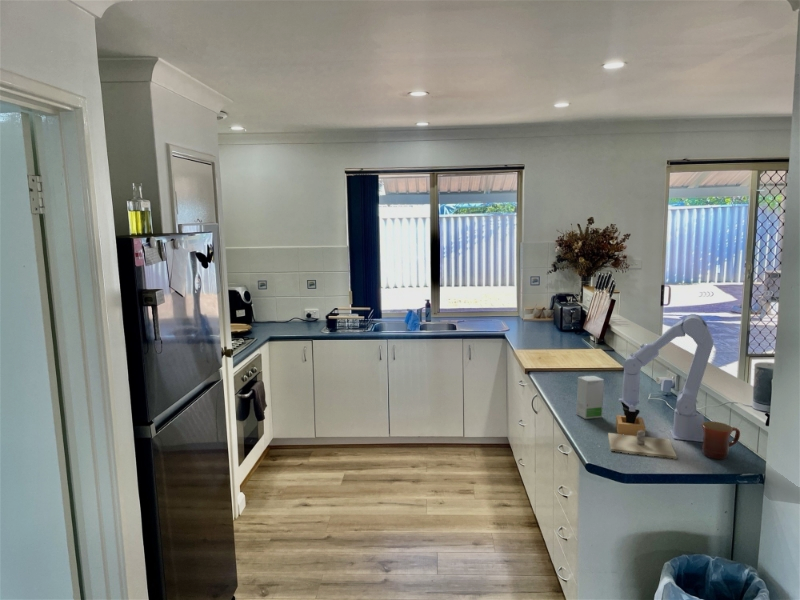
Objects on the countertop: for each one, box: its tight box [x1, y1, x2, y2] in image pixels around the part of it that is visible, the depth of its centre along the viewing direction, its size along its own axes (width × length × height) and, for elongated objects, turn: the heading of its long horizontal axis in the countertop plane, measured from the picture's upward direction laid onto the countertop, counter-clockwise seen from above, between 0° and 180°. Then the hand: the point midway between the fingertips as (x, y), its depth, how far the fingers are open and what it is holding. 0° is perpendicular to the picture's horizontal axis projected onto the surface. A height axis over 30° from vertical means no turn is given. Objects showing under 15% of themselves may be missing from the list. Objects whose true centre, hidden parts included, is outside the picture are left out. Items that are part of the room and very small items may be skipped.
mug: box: [701, 420, 741, 460], centre depth 173 cm, size 12×9×10 cm
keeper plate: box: [607, 430, 678, 460], centre depth 181 cm, size 20×14×6 cm
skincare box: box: [575, 375, 605, 420], centre depth 210 cm, size 8×7×16 cm
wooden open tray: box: [615, 414, 646, 436], centre depth 195 cm, size 9×9×4 cm
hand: (629, 423), depth 199 cm, fingers open, 6 cm apart
